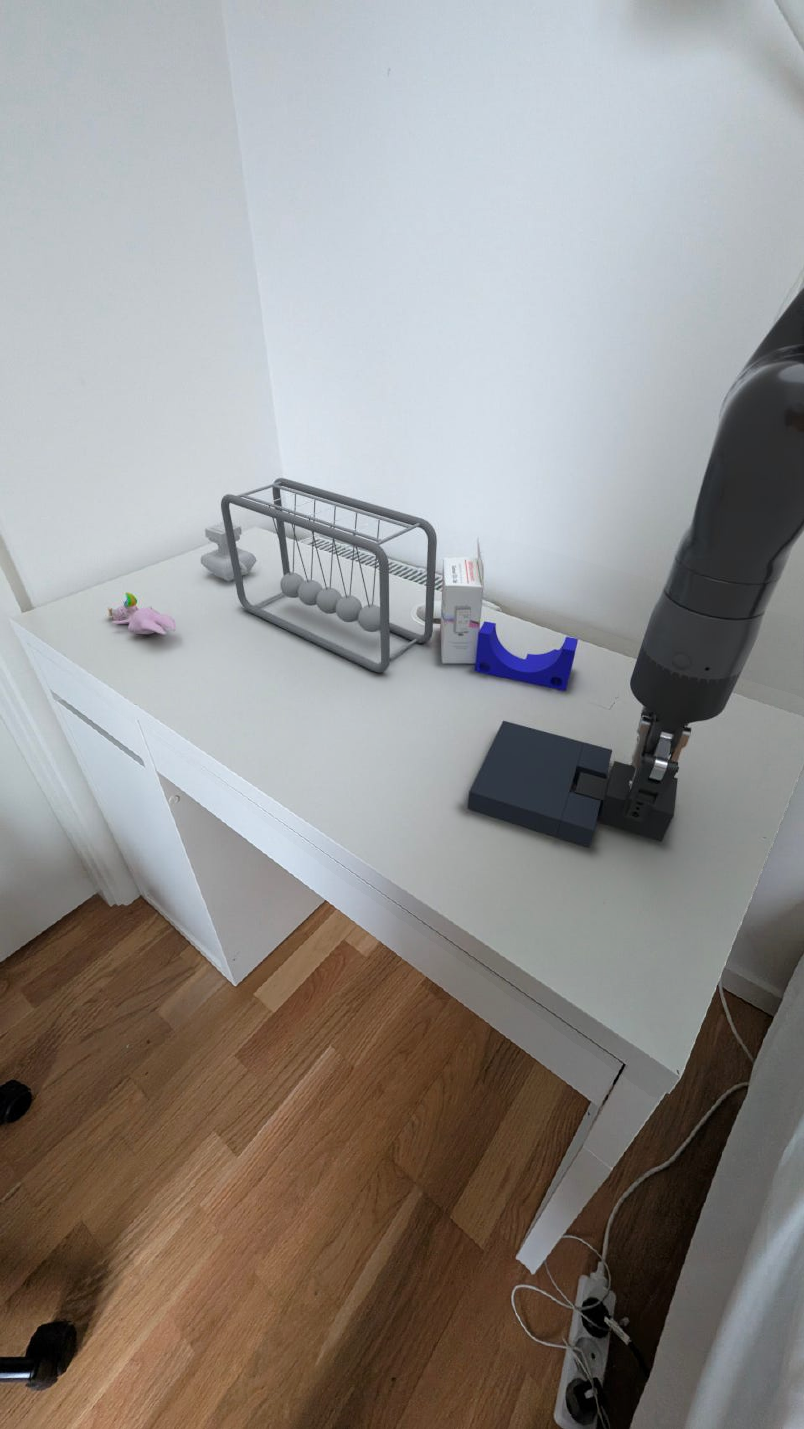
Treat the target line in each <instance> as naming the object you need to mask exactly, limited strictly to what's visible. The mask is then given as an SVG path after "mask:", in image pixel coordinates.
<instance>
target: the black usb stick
mask: <svg viewBox="0 0 804 1429" xmlns="http://www.w3.org/2000/svg"><path fill="white" fill-rule="evenodd" d="M634 770H635V767H634V766H632V765H631V764H627V763H624V762H621V761H616V760H614V761H613V763H612V767H611V770H610V773H609V775H608V779H607V778H606V779H604V778H600V777H597V776H593V775H590V774H586V773H583V772H580V776H579V779H578V783H577V784H576V786H575V791H574V793H576V794H579V795H582V796H586V797H589V798H592V799H596V800H599V801H601V803H600V807H599V811H598V817H597V823H599V824H602V825H605V826H608V827H612V828H615V829H618V830H622V831H625V832H628V833H632V834H635V835H638V836H641V837H644V838H648V839H651V840H653V841H657V842H660V843H662V842H663V840H664V838H665V835H666V834H667V831H668V830H669V827H670V825H671V823H672V820H673V818H674V816H675V812H676V811H675V810H676V801H677V790H678V784H679V782H678V781H679V778H678V777H676V776H674V778H673V780H672V782H671V784H670V786H669V788H668V790H667V792H666V793H665V795H664V797H663V799H662V803H661V804H660V805H659V807H656V806H653V805H652V806H651V809H650V811H649V814H648V816H647V818H646V820H645V821H644V822H638V821H635V820H632V819H628V818H625V817H623V816H622V815H621V811H622V807H623V804H624V801H625V798H626V796H627V793H628V790H629V787H630V786H628V785H629V781H630V780H632V777H633V773H634Z"/></svg>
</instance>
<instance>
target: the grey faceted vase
mask: <svg viewBox="0 0 804 1429" xmlns="http://www.w3.org/2000/svg"><path fill="white" fill-rule="evenodd" d="M232 525H233V531H234V536H235V542H238V541H240V539H241V537H240V536H241V535H243V533H242V526H241V525H239V524H235V523H233V522H232ZM204 534H205V535H204V536H205V538H207V539H208V541H209V542H212V543H214V544H216V545H217V547H218V548H217V549H215V550H211V551H210V552H207V553H205V554H202V555H201V556H200V564H201V565H202V566H203V567H204V568H206V569H207V571H209V572H210V573H211V574H212V575H214V576H216V577H218V578H220V579H223V580H225V581H227V582H231V581H233V580H235V579H234V574H233V568H232V563H231V558H230V553H229V548H228V542H227V537H226V532H225V527H224V521H221V522H220V523H217V524H214V525H211V526H209V527H206V528H204ZM237 553H238V558H239V564H240V569H241V575H242V576H245V575H247V574H249V573H250V572H251V570H252V569H253V567H254V566H255V564H256V562H257V561H258V560H257V557H256V556H255V554H253V553H252V552H249V551H247V550H244V549H242V548H239V547H237Z"/></svg>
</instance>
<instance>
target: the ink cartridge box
mask: <svg viewBox="0 0 804 1429" xmlns="http://www.w3.org/2000/svg"><path fill="white" fill-rule="evenodd" d="M476 540H477V557H443V558H442V580H441V604H440V607H441V608H440V621H439V622H440V623H439V624H440V625H439V626H440V627H439V634H440V635H439V636H440V652H441V654H440V655H441V664H442V665H443V664H475V663H476V653H477V643H478V633H479V631H480V629H481V619H482V609H483V598H484V577H485V576H484V574H485V572H484V566H485V565H484V564H485V563H484V558H483V551H482V546H481V541H480V537H479V536H478V537H477V539H476Z"/></svg>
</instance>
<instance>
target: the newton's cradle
mask: <svg viewBox="0 0 804 1429" xmlns="http://www.w3.org/2000/svg"><path fill="white" fill-rule="evenodd" d="M270 488H271V490H272V498H273V500H271V501H265V500H263V499H259V498H256V497H253V496H250V495H252V494H255V493H259V492H262V491H266V490H269V489H270ZM281 490H282V491H285V492H288V493H292V494H289V495H286V496H283V497H281V496H282V494H281ZM293 495H294V506H292V507H290V508H286V507H284V506H283V505H282V499H285V498H288V497H290V496H293ZM297 495H299V496H301V497H304V498H308V499H311V500H308V501H306V502H304V503H300V504H297ZM316 501H318V502H321V503H325V504H327V505H331V506H329V507H328V508H325V509H322V510H319V511H317V512H316ZM311 502H314V503H313V513H312V514H309V515H308V514H305V513H301V512H299V511H297V510H296V508H297V507H299V506H302V505H305V504H309V503H311ZM230 504H232V505H235V506H237V507H241V508H244V509H246V510H250V511H252V512H255V513H258V514H261V515H264V516H267V517H270V518H271V519H272V522H273V525H274V529H275V531H276V535H277V538H278V544H279V545H278V546H279V552H280V559H281V566H282V574H283V576H282V577H281V579H280V583H279V584H280V585H279V587H280V590H281V592H279V593H277V594H275V595H272V596H271V597H269V598H267V599H264V600H262V601H261V602H258V603H256V604H254V605H253V604H251V603H250V602H249V600H248V598H247V596H246V592H245V586H244V581H243V575H241V569H240V564H239V558H238V553H237V548H238V547H237V543H236V542H237V541H236V542H235V536H234V531H233V525H232V523H233V521H232V515H231V510H230ZM337 507H338V508H341V509H344V510H347V511H351V512H353V513H351V514H348V515H346V516H344V517H340V518H339V519H336V511H337ZM331 508H333V510H334V512H333V521H331V522H329V521H326V520H323V519H320V518H316V517H315V516H316V514H319V513H322V512H324V511H327V510H329V509H331ZM292 509H294V510H292ZM220 511H221V516H222V522H224V527H225V532H226V537H227V542H228V548H229V553H230V558H231V563H232V568H233V574H234V579H233V580H234V584H235V590H236V594H237V597H238V601H239V603H240V604H241V606H242V607H243V608H244V610H246V611H247V612H249V613H251V614H253V615H255V616H257V617H258V618H259V617H260V618H261V619H263V620H266V621H268V622H270V623H272V624H274V625H276V626H278V627H280V628H282V629H285V630H286V631H288V632H291V633H293V634H295V635H296V636H299V637H300V638H301V637H302V638H303V639H305V640H307V641H310V642H311V643H313V644H316V645H318V646H320V647H322V648H324V649H326V650H328V651H330V652H333V653H335V654H337V655H339V656H341V657H343V658H345V659H347V660H350V661H351V662H354V663H355V664H358V665H360V666H362V667H364V668H365V669H368V670H370V671H371V672H375V673H384V672H385V671H387V670H388V668H389V666H390V663H391V662H390V661H391V659H392V658H394V657H395V656H397V655H399V654H400V653H401V652H403V651H405V650H406V649H407V648H409V647H411V646H412V645H414V644H415V643H418V644H426V643H427V642H429V641H430V640H431V639H432V637H433V632H434V613H435V612H434V611H435V590H436V572H437V571H436V568H437V546H438V545H437V544H438V539H437V532H436V530H435V528H434V527H433V525H432V524H431V522H429V521H428V520H426V519H424V518H422V517H418V516H416V515H415V516H414V515H411V514H407V513H405V512H401V511H397V510H394V509H391V508H387V507H384V506H380V505H377V504H373V503H370V502H367V501H364V500H360V499H356V498H353V497H350V496H346V495H343V494H339V493H336V492H333V491H329V490H325V489H322V488H319V487H317V486H316V487H315V486H312V485H309V484H305V483H301V482H298V481H294V480H292V479H288V478H285V477H279V478H277V479H275V480H274V482H273V483H271V484H268V485H265V486H261V487H259V488H256V489H252V490H249V491H246V492H243V493H240V494H237V495H234V494H231V493H230V494H229V493H227V494H225V495H223V496H222V498H221V500H220ZM358 514H360V515H363V516H367V517H370V518H373V519H376V520H373V521H371V522H368V523H367V524H364V525H361V526H359V527H357V522H358V521H357V520H358ZM352 515H355V521H354V522H355V523H354V529H351V528H347V527H344V526H341V525H339V524H336V522H338V521H340V520H342V519H346V518H347V517H350V516H352ZM377 521H378V522H377ZM380 521H383V522H387V523H390V524H391V525H392V524H393V525H396V526H399V527H402V528H403V529H402V530H400V531H398V532H396V533H394V534H392V535H389V536H387V537H385V538H382V539H381V538H379V536H380V524H381V523H380ZM375 522H377V534H376V535H377V536H376V537H375V536H373V535H368V534H367V533H366V534H365V533H362V532H359V531H358V530H359V529H361V528H364V527H366V526H369V525H371V524H372V523H375ZM285 523H287V524H290V525H291V529H292V531H293V542H292V543H293V545H292V546H293V547H292V548H293V549H292V555H293V556H292V571H291V568H290V560H289V553H288V543H287V537H286V535H287V534H286V528H285ZM296 527H299V528H302V529H304V530H307V531H310V532H311V535H312V539H311V540H312V542H311V564H310V578H309V579H308V576H307V572H306V568H305V564H304V561H303V557H302V553H301V550H300V545H299V543H298V539H297V538H298V537H297V535H296ZM416 528H419V529H421V530H423V531H424V532H425V535H426V537H427V555H426V582H425V583H426V585H425V588H426V589H425V607H424V608H425V611H424V632H423V634H419V633H416V632H414V631H412V630H409V629H406V628H404V627H402V626H399V625H397V624H396V623H392V622H390V563H389V558H388V555H387V553H386V552H385V550H384V549H383V547H382V546H381V545H383V544H385V543H386V542H389V541H391V540H394V539H395V538H397V537H399V536H402V535H403V534H406V533H408V532H410V531H412V530H414V529H416ZM315 533H316V534H319V535H322V536H324V537H326V538H327V537H328V538H330V539H332V542H331V544H332V545H331V557H330V558H331V559H330V576H329V586H327V583H326V578H325V575H324V571H323V566H322V563H321V562H322V561H321V558H320V555H319V549H318V546H317V543H316V538H315ZM336 541H340V542H342V543H344V544H347V545H351V546H353V547H352V559H351V569H350V570H351V571H350V583H349V594H347V591H346V586H345V582H344V578H343V572H342V568H341V563H340V559H339V555H338V550H337V546H336ZM295 542H296V546H297V550H298V553H299V558H300V560H301V564H302V567H303V572H304V575H305V578H306V580H305V579H304V577H303V576H302V575H301V574H299V573H296V572H295ZM314 547H315V550H316V553H317V558H318V562H319V566H320V571H321V575H322V578H323V583H324V586H325V588H323V586H322V585H321V584H320V583H319V581H316V580H314V579H313V564H314V561H313V559H314ZM358 548H359V549H362V550H365V551H368V552H371V553H372V554H373V555H374V556H375V560H374V572H373V587H372V599H371V603H370V601H369V597H368V591H367V588H366V587H367V586H366V582H365V578H364V573H363V568H362V562H361V559H360V555H359V549H358ZM334 550H335V554H336V559H337V563H338V568H339V572H340V578H341V582H342V586H343V590H344V596H342V594H341V593H340V591H339V590H337V589H336V588H334V587H332V572H333V561H334V560H333V559H334V555H333V554H334ZM355 550H356V555H357V560H358V564H359V569H360V573H361V579H362V583H363V587H364V592H365V596H366V602H367V604H366V605H364V606H363V605H362V603H361V601H360V599H359V598H357V597H356V596H354V595H351V593H352V581H353V570H354V560H355V557H354V556H355ZM377 561H378V574H379V576H378V577H379V578H378V579H379V582H378V583H379V605H377V604H374V601H375V600H374V599H375V586H376V573H377V572H376V571H377ZM283 595H285V597H288V598H290V599H297V598H298V599H299V600H300V602H301V603H302V604H304V605H306V606H310V607H313V606H316V605H317V608H318V609H319V611H321V612H322V613H324V614H326V615H328V614H329V615H332V614H335V613H336V616H337V617H338V618H339V619H340V620H341V621H343V622H344V623H354V622H356V621H358V622H357V623H358V624H359V626H360V628H361V629H362V630H364V631H366V632H369V633H375V632H378V631H379V630H380V662H379V663H378V662H375V661H373V660H371V659H369V658H366V657H364V656H362V655H360V654H358V653H356V652H353V651H352V650H349V649H347V648H345V647H343V646H341V645H339V644H336V643H335V642H332V641H330V640H328V639H325V638H324V637H321V636H320V635H317V634H315V633H313V632H311V631H309V630H306V629H304V628H303V627H300V626H298V625H296V624H293V623H292V622H290V621H288V620H286V619H283V618H282V617H279V616H276V615H274V614H272V613H270V612H268V611H265V610H264V609H262V608H259V607H260V606H262V605H264V604H266V603H268V602H270V601H273V600H274V599H277V598H279V597H281V596H283ZM390 632H392V633H394V634H396V635H398V636H401V637H403V638H406V639H408V640H410V641H409V642H408V643H407V644H405V645H404V646H402V647H400V648H399V649H398V650H396V651H394V652H393V653H391V652H390V651H391V647H390V646H391V645H390V643H391V642H390V641H391V640H390Z"/></svg>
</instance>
